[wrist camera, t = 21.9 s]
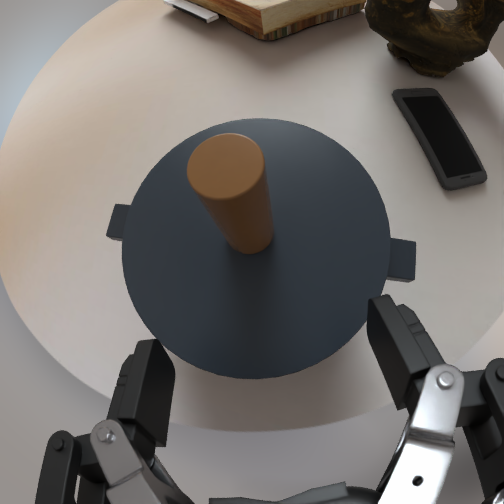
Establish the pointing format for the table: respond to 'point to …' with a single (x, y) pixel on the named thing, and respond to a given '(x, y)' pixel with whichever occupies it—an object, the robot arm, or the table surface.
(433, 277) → the table surface
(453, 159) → the cell phone
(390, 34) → the pottery vessel
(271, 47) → the table surface
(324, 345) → the lid
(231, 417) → the table surface
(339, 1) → the book
